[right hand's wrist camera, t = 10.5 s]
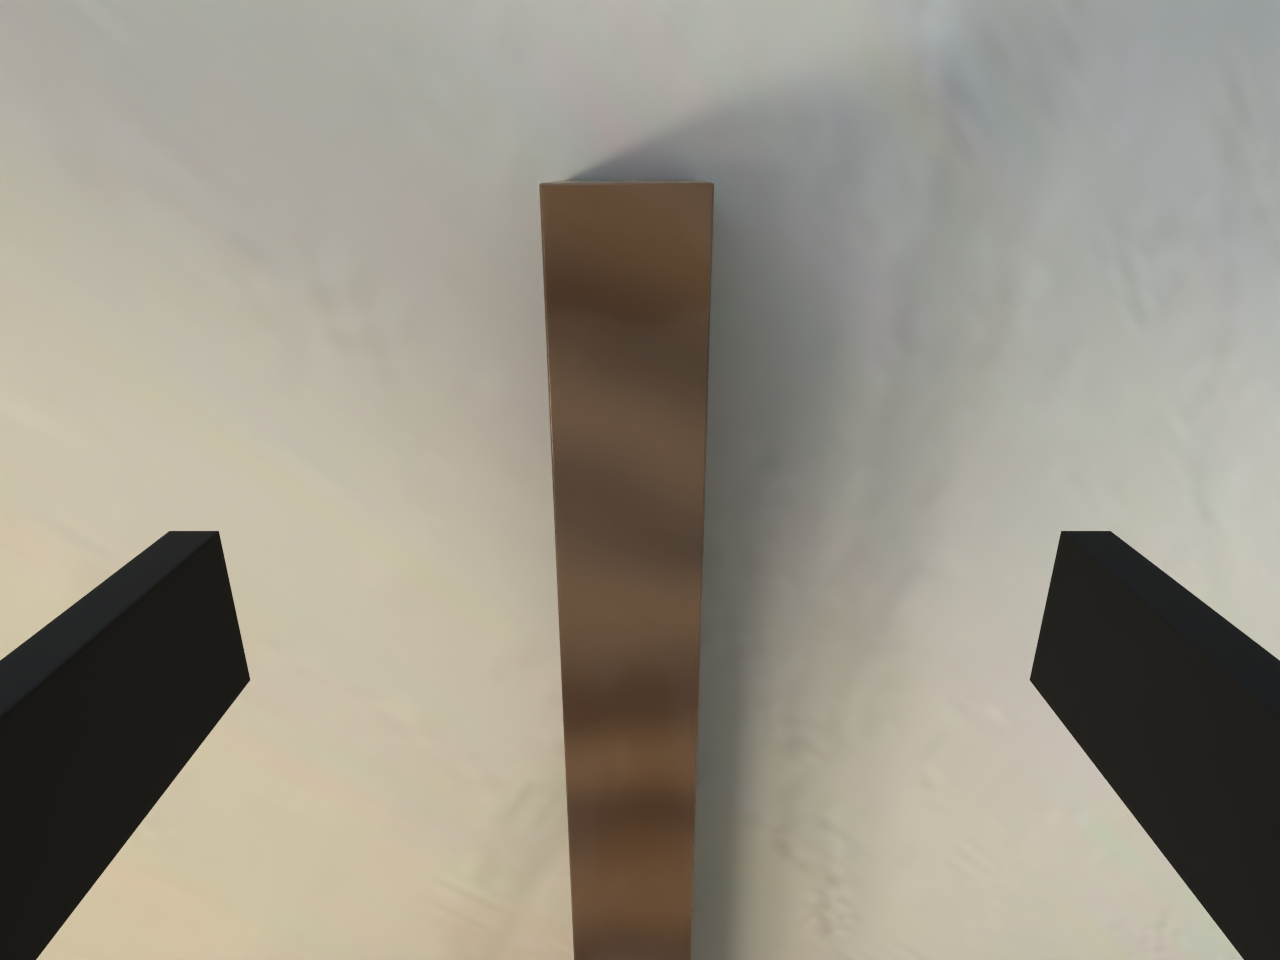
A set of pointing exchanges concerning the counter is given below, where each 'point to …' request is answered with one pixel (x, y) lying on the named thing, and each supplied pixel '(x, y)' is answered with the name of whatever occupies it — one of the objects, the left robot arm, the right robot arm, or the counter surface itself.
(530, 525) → the counter surface
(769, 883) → the counter surface
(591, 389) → the bar
